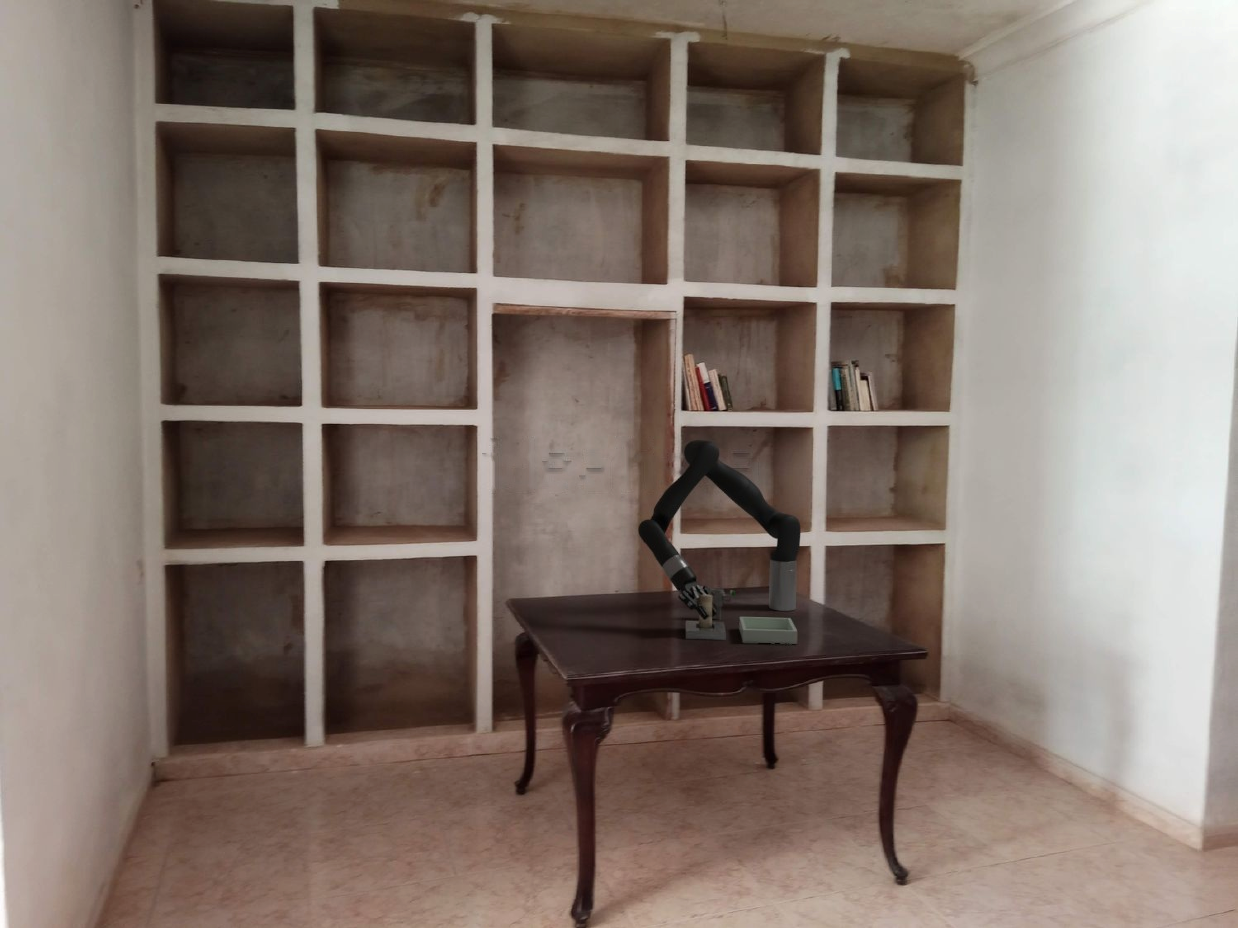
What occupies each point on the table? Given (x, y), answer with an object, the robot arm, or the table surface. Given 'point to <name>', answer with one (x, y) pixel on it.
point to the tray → (767, 630)
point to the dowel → (707, 604)
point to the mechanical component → (720, 599)
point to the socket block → (705, 631)
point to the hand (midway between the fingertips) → (710, 616)
